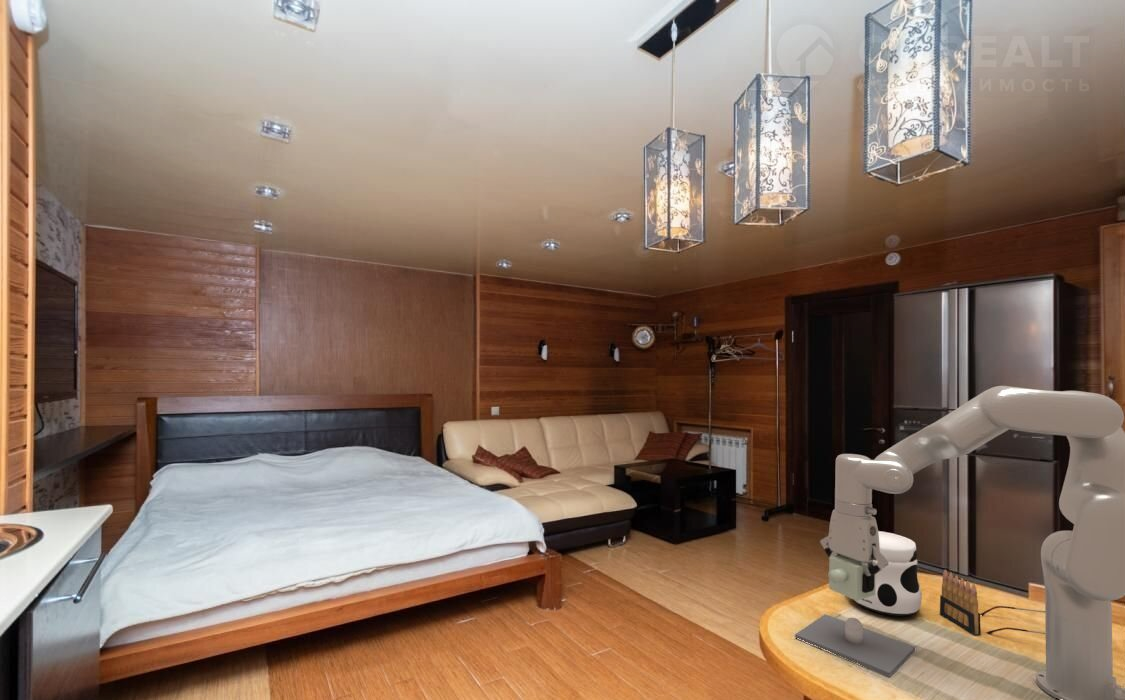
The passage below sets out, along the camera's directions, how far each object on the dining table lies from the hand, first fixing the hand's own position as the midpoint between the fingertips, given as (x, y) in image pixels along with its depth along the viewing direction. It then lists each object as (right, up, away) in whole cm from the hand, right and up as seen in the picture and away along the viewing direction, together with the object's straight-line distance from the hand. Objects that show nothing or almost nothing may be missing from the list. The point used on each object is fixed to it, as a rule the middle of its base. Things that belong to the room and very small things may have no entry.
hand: (852, 584), depth 123 cm
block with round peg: (-1, -2, -1) cm, 2 cm away
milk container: (+19, -15, +19) cm, 31 cm away
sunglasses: (+45, -15, +6) cm, 48 cm away
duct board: (0, -14, 0) cm, 14 cm away
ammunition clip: (+32, -15, +10) cm, 37 cm away
